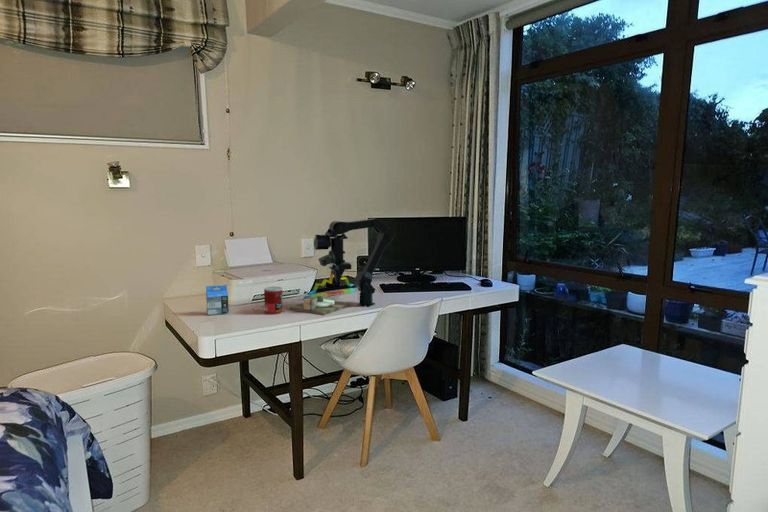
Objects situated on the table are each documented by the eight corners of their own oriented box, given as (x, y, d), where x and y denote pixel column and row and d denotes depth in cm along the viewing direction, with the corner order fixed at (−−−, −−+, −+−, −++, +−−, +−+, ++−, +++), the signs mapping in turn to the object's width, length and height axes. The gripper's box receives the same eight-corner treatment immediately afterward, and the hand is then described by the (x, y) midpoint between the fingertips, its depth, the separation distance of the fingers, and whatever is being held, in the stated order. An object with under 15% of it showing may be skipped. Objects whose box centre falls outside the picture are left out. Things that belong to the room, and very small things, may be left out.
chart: (307, 301, 238) (307, 271, 235) (303, 300, 240) (303, 270, 238) (355, 292, 258) (354, 264, 256) (351, 291, 260) (351, 264, 258)
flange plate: (316, 299, 232) (316, 290, 232) (339, 302, 227) (339, 293, 226) (294, 307, 217) (294, 298, 216) (318, 311, 211) (318, 301, 211)
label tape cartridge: (207, 315, 209) (206, 287, 207) (206, 313, 212) (205, 286, 210) (228, 313, 212) (227, 286, 210) (227, 311, 216) (226, 284, 214)
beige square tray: (317, 300, 238) (317, 288, 237) (350, 305, 227) (350, 293, 226) (289, 309, 221) (289, 296, 220) (323, 315, 210) (323, 301, 210)
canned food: (278, 315, 210) (278, 290, 209) (261, 313, 212) (260, 289, 211) (285, 310, 218) (285, 286, 216) (269, 309, 219) (268, 286, 218)
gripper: (313, 247, 224) (313, 280, 226) (328, 252, 208) (328, 287, 210) (335, 246, 230) (335, 278, 232) (351, 250, 213) (351, 285, 215)
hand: (337, 282), depth 222 cm, fingers closed
